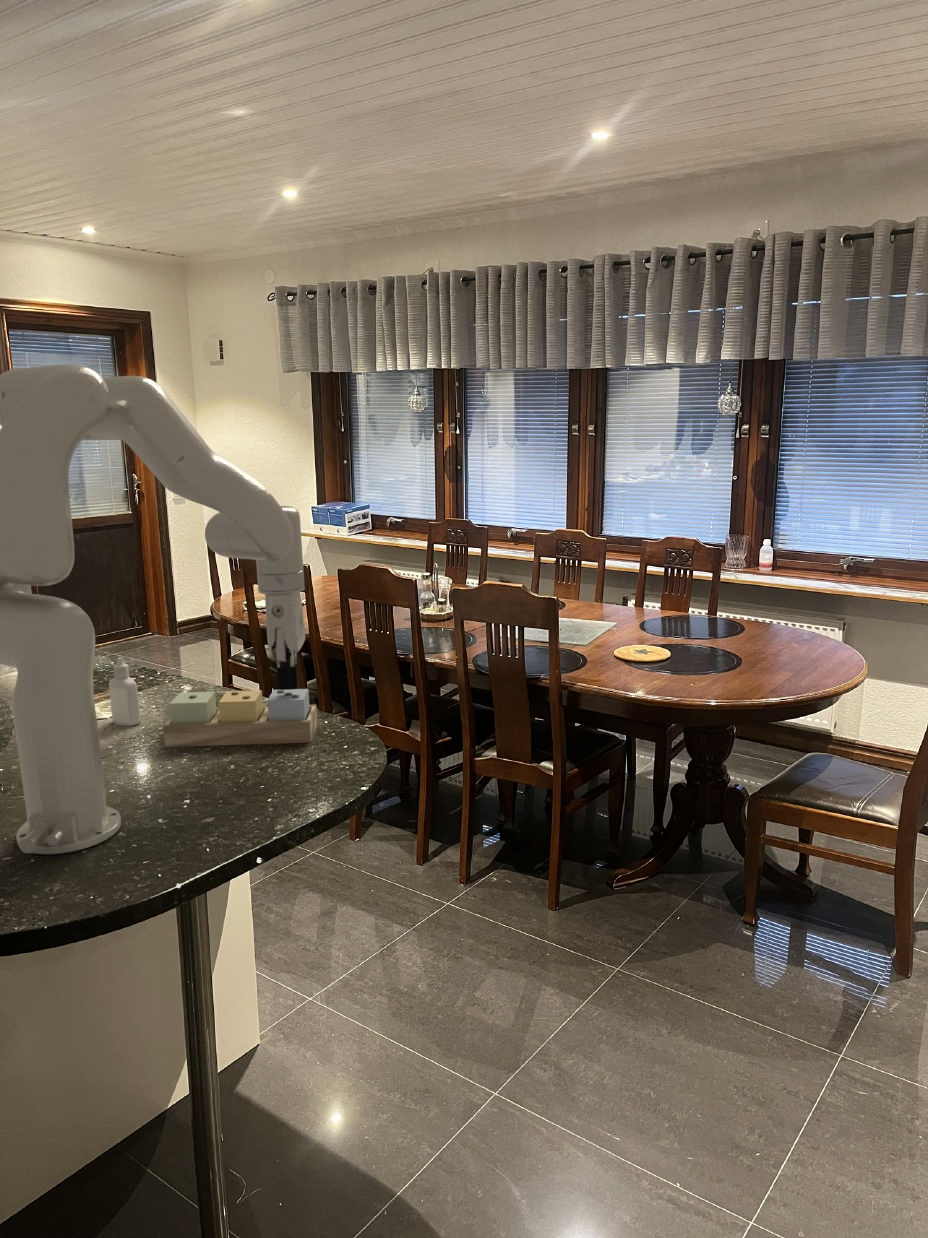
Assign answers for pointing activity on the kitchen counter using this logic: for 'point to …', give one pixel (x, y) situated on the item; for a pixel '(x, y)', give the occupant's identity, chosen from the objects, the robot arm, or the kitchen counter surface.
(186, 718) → the tile one sage
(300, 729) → the tray
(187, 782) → the kitchen counter surface
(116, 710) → the eye dropper bottle
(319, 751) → the kitchen counter surface
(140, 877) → the kitchen counter surface
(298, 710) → the tile three blue
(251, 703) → the tile two ochre
